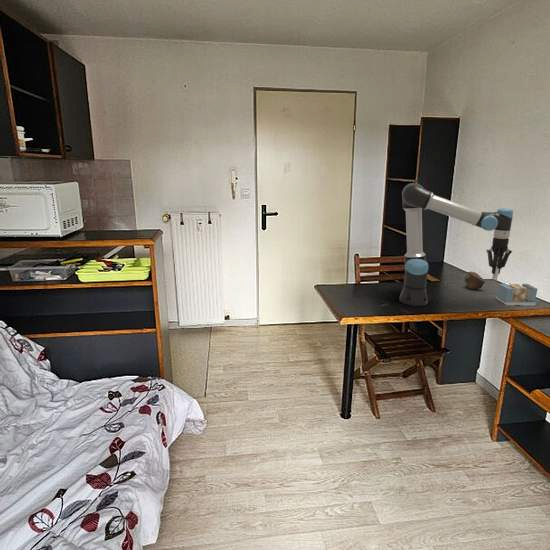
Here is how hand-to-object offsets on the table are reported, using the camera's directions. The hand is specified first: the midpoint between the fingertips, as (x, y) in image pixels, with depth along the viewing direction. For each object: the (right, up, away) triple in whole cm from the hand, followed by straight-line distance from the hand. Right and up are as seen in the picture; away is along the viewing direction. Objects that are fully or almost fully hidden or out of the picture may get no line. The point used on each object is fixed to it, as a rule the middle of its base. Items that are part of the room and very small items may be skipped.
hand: (494, 279), depth 222 cm
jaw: (+7, -11, +3) cm, 14 cm away
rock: (+1, -6, +27) cm, 28 cm away
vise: (+14, -13, +4) cm, 19 cm away
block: (+13, -12, +3) cm, 18 cm away
